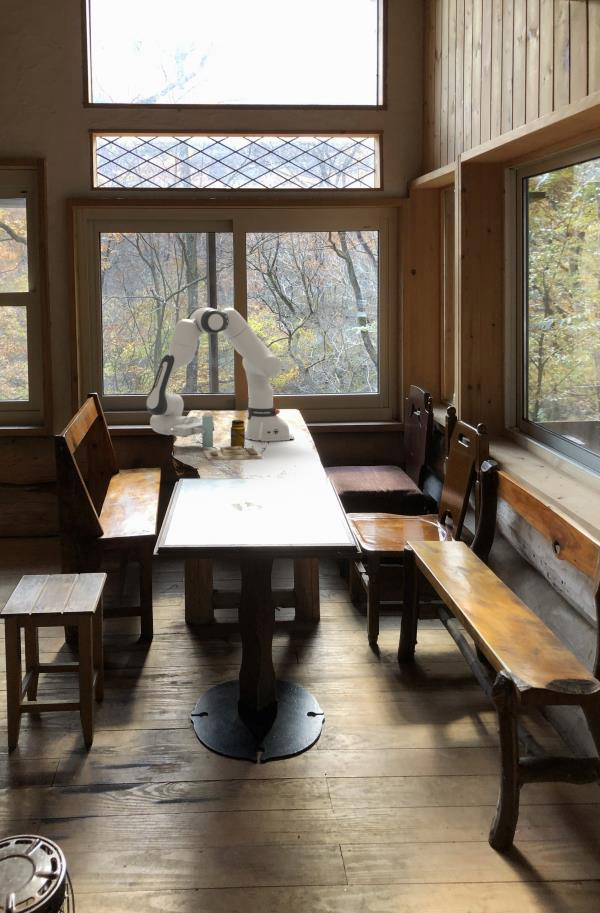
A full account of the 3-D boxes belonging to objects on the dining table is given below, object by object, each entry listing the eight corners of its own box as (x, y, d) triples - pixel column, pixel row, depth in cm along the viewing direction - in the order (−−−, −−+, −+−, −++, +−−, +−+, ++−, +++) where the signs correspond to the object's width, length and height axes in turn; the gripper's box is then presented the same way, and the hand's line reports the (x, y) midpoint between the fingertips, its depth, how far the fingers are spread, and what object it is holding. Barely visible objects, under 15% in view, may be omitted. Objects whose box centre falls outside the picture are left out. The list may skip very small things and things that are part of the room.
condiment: (248, 449, 392) (248, 421, 390) (231, 450, 388) (231, 422, 385) (239, 446, 398) (240, 418, 396) (222, 447, 393) (223, 420, 391)
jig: (255, 452, 385) (255, 445, 385) (261, 458, 373) (261, 451, 372) (203, 453, 380) (203, 446, 380) (208, 459, 368) (208, 452, 367)
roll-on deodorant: (212, 445, 388) (212, 410, 385) (213, 447, 384) (213, 412, 381) (201, 445, 387) (201, 411, 384) (203, 447, 383) (203, 412, 380)
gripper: (167, 422, 382) (193, 426, 375) (197, 416, 399) (223, 419, 392) (167, 437, 383) (194, 441, 376) (197, 430, 400) (223, 434, 393)
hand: (209, 430), depth 384 cm, fingers closed on roll-on deodorant, 4 cm apart
